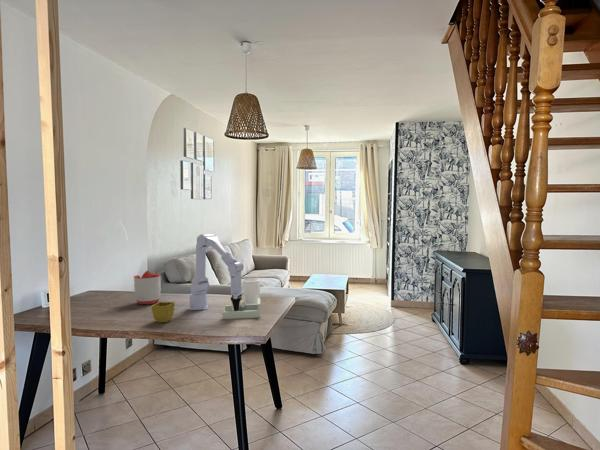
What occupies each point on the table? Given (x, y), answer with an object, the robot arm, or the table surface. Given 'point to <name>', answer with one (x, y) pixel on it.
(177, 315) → the table surface
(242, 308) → the plate
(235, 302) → the robot arm
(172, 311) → the flower pot
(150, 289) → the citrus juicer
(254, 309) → the lane
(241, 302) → the spice jar
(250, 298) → the jar
